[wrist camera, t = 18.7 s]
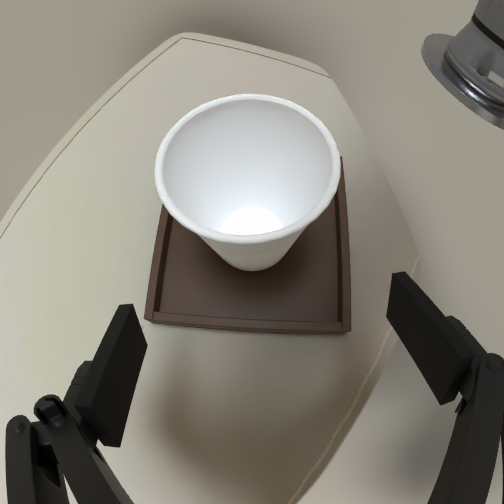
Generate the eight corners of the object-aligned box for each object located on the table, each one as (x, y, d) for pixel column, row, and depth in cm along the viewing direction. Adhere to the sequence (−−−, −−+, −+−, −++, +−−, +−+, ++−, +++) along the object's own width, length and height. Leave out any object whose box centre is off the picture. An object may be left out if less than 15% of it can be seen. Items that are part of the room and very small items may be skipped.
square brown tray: (337, 169, 29) (342, 156, 27) (344, 334, 24) (351, 331, 22) (179, 163, 30) (174, 150, 28) (152, 323, 25) (143, 319, 23)
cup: (329, 211, 27) (361, 125, 17) (283, 316, 24) (299, 278, 14) (227, 171, 29) (211, 78, 18) (172, 264, 26) (118, 197, 15)
